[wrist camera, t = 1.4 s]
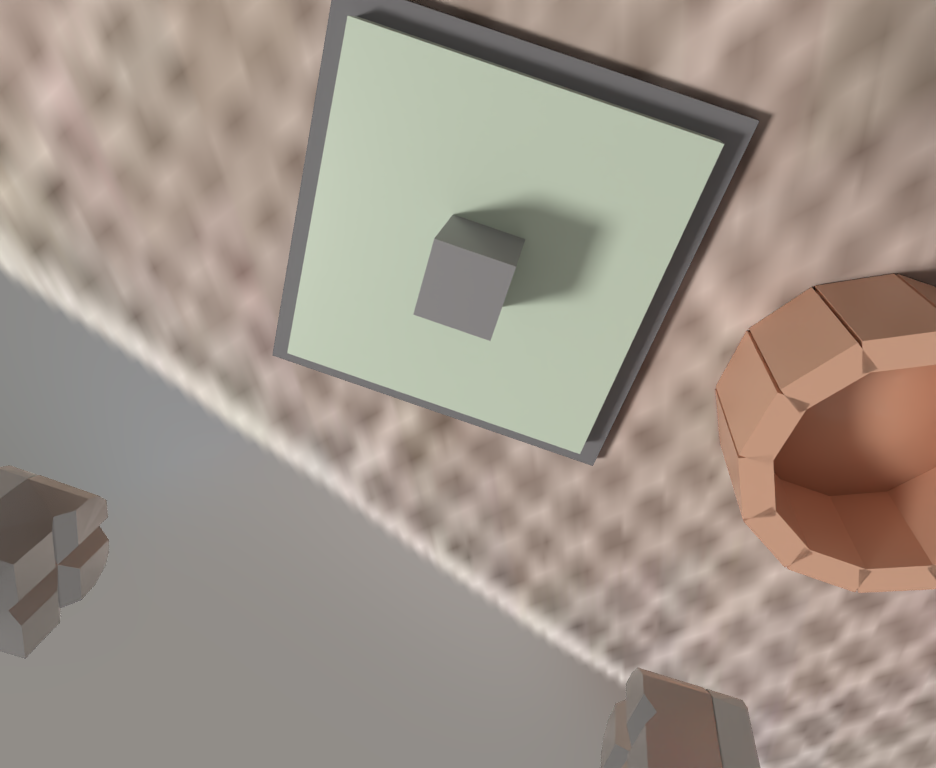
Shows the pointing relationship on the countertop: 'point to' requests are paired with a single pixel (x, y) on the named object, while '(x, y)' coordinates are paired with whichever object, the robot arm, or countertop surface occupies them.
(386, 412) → the countertop surface
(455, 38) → the mat
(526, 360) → the lid
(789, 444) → the bowl
